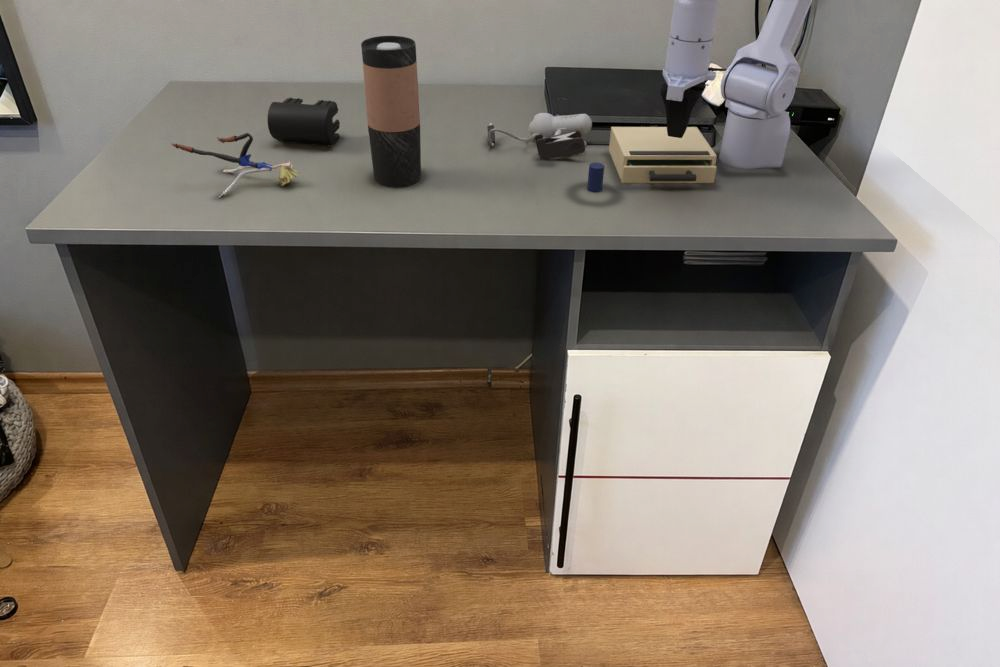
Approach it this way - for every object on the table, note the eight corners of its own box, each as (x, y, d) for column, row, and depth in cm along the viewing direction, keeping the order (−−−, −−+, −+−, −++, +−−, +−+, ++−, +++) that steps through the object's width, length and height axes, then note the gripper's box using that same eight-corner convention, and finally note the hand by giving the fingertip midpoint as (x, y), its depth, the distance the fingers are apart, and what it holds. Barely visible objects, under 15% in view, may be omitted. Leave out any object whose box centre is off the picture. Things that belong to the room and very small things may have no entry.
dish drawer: (691, 154, 125) (697, 125, 122) (711, 185, 115) (717, 155, 112) (608, 154, 124) (611, 125, 121) (620, 185, 114) (624, 154, 112)
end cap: (271, 148, 124) (264, 108, 120) (287, 132, 130) (281, 93, 126) (329, 153, 123) (324, 112, 119) (343, 137, 128) (339, 97, 124)
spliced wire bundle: (298, 236, 114) (162, 199, 110) (313, 195, 119) (183, 159, 115) (302, 190, 105) (155, 149, 102) (318, 148, 110) (178, 108, 107)
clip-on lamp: (479, 173, 124) (585, 163, 118) (469, 137, 121) (579, 126, 115) (497, 141, 133) (597, 130, 127) (489, 107, 129) (592, 94, 123)
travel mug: (430, 171, 117) (425, 38, 106) (410, 191, 112) (401, 52, 100) (386, 164, 119) (376, 33, 108) (363, 183, 114) (350, 46, 102)
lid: (613, 184, 115) (616, 156, 112) (620, 204, 109) (624, 175, 107) (568, 184, 114) (570, 156, 112) (574, 204, 109) (576, 175, 106)
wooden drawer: (693, 155, 124) (696, 137, 122) (717, 193, 112) (721, 174, 110) (609, 155, 123) (611, 137, 121) (624, 193, 112) (626, 174, 110)
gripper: (713, 54, 93) (695, 158, 101) (729, 27, 104) (711, 122, 112) (657, 47, 95) (643, 150, 103) (678, 21, 106) (664, 116, 114)
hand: (675, 135), depth 107 cm, fingers closed
